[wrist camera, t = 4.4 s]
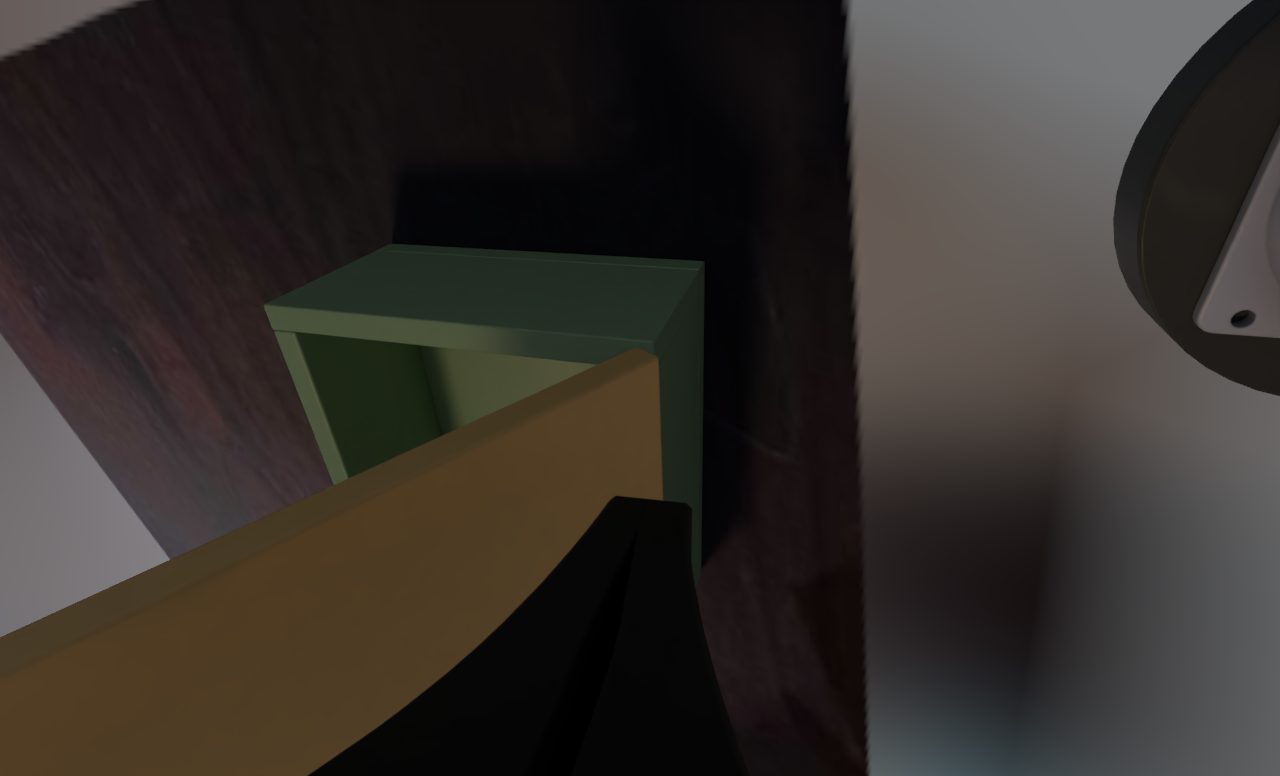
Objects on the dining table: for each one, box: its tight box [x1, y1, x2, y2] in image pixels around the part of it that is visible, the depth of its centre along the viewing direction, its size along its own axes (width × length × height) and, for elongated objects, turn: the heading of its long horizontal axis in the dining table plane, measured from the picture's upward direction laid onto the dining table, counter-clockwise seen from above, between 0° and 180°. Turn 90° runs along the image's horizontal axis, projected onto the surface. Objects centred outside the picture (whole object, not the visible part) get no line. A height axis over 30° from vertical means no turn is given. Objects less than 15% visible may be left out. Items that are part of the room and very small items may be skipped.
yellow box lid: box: [0, 348, 664, 776], centre depth 13 cm, size 12×14×1 cm
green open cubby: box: [264, 244, 705, 589], centre depth 21 cm, size 12×14×6 cm
